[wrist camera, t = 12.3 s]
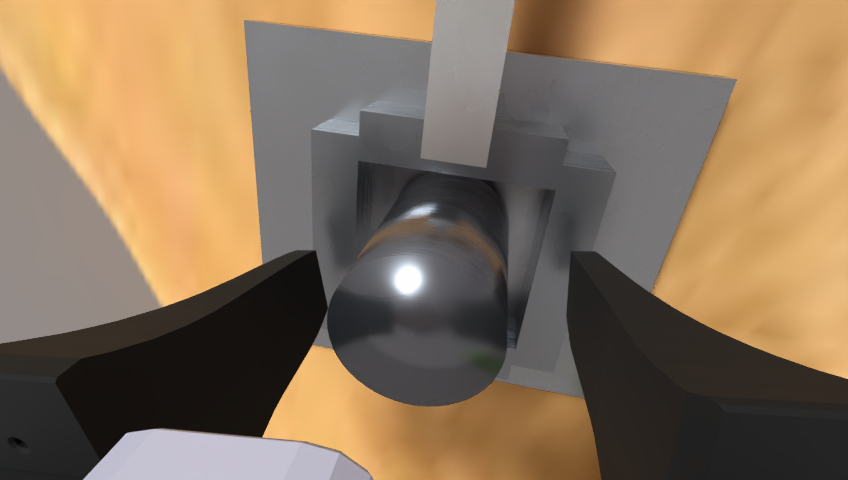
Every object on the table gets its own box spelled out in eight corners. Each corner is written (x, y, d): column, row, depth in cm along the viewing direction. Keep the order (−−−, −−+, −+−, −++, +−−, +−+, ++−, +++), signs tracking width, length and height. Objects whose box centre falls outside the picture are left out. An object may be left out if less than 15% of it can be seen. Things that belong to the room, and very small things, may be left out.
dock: (720, 75, 12) (774, 87, 10) (600, 383, 18) (616, 441, 15) (260, 21, 14) (207, 18, 11) (279, 321, 19) (245, 365, 17)
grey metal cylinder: (505, 165, 13) (501, 252, 8) (512, 276, 15) (513, 409, 10) (382, 175, 14) (307, 260, 9) (402, 279, 16) (348, 403, 11)
